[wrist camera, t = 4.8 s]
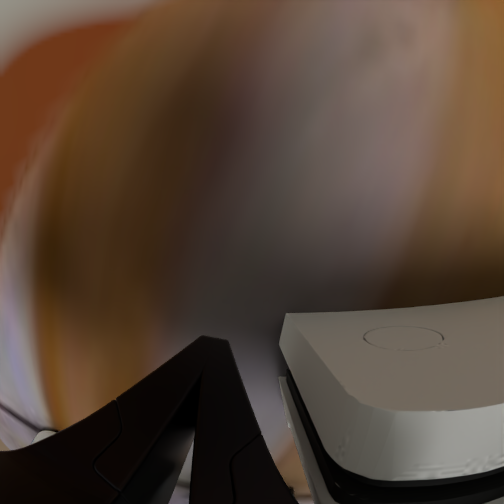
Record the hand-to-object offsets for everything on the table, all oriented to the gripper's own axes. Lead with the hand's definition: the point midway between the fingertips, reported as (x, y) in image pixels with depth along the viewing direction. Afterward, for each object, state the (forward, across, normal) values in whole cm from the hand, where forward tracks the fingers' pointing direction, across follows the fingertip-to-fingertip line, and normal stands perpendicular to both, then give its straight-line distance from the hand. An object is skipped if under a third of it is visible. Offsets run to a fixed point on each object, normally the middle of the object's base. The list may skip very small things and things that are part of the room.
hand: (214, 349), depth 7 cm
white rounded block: (+3, -10, 0) cm, 11 cm away
